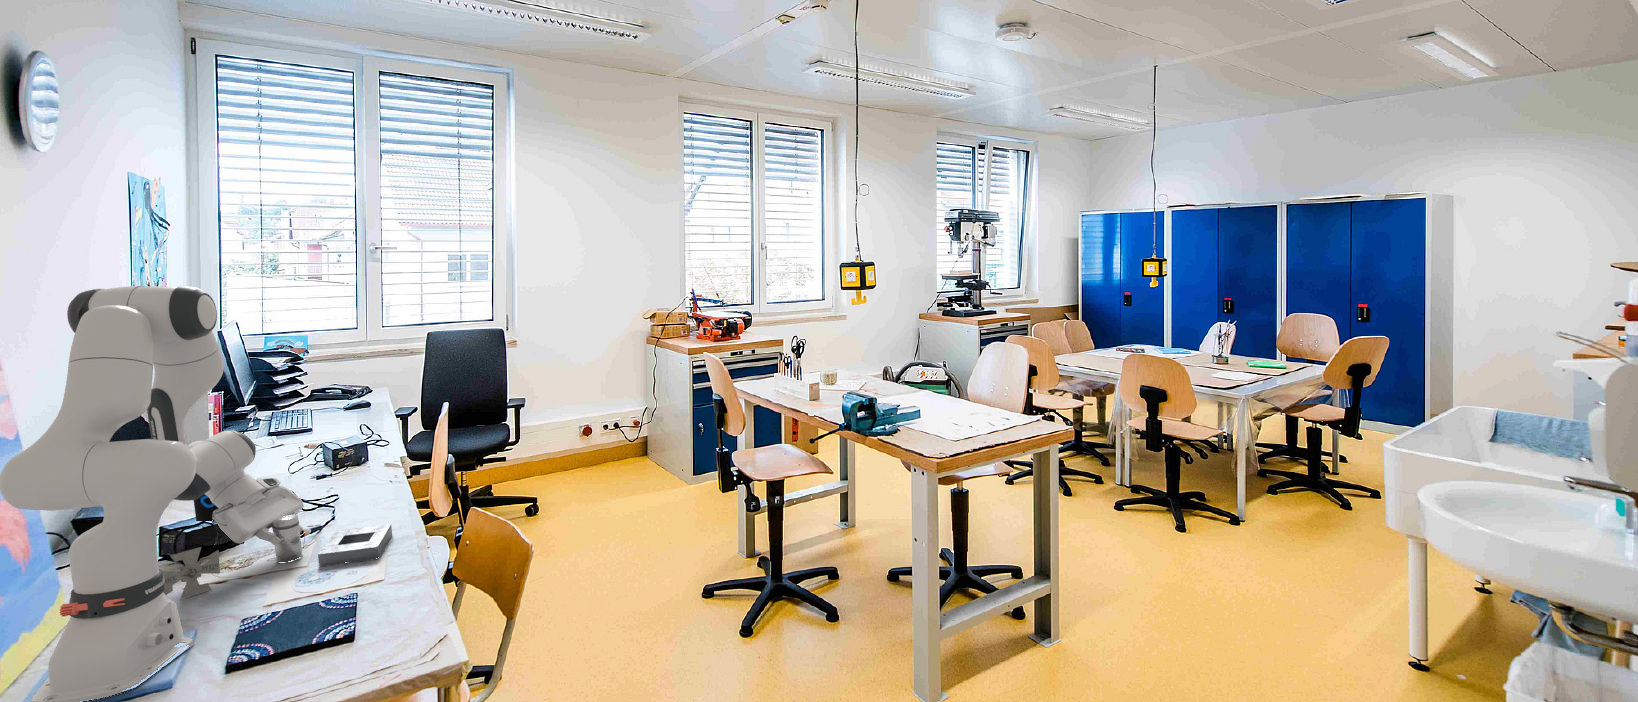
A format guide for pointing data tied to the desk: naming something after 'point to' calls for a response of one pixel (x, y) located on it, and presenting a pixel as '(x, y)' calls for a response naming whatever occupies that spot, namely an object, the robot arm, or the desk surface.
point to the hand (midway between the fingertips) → (289, 537)
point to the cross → (191, 572)
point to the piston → (287, 538)
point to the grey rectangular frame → (355, 545)
